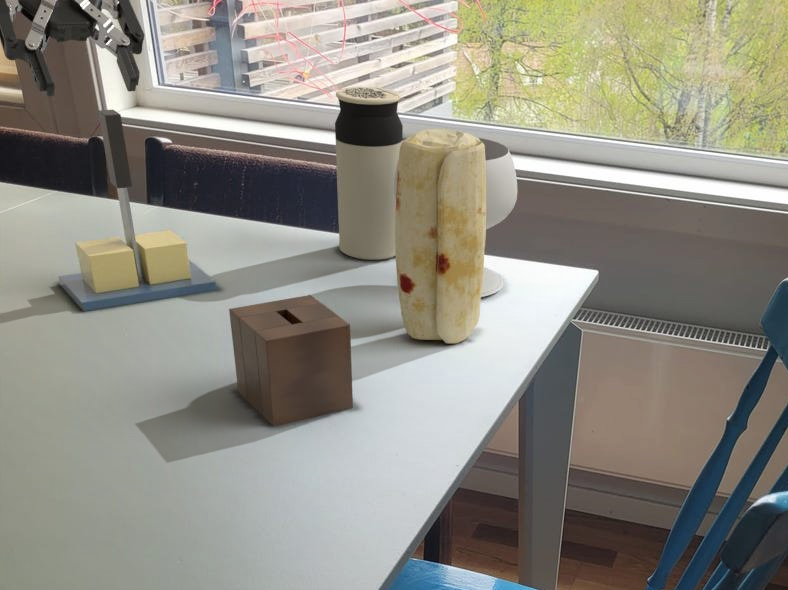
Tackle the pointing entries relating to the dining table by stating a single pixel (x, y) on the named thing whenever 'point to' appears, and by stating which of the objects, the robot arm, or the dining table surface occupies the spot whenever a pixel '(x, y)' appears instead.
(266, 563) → the dining table surface
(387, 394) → the dining table surface
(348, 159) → the travel mug
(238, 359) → the knife block
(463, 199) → the food model
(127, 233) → the knife
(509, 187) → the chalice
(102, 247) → the butter
